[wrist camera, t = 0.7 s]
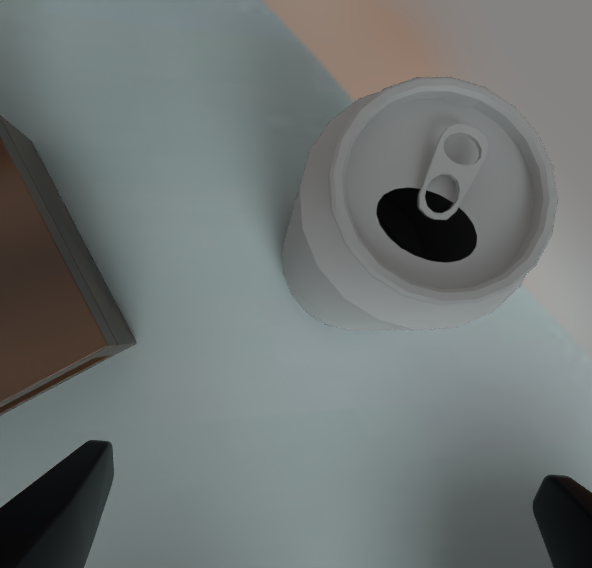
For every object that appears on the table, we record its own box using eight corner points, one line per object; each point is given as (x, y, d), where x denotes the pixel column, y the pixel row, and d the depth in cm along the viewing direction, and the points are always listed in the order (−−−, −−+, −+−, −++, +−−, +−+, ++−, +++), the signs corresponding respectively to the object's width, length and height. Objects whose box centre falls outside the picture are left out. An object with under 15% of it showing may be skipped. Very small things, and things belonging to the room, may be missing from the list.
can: (258, 297, 22) (257, 257, 10) (313, 172, 23) (371, 2, 11) (387, 352, 22) (536, 378, 10) (435, 227, 23) (621, 118, 11)
